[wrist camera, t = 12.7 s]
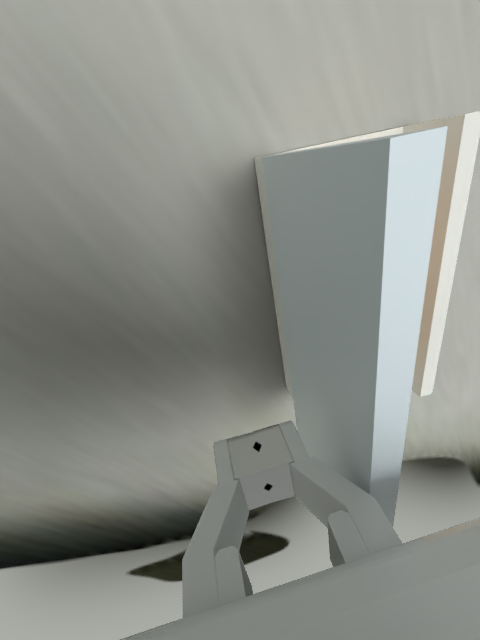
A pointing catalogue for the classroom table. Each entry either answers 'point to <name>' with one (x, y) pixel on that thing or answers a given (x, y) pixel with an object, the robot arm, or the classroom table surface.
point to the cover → (355, 293)
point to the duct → (444, 240)
